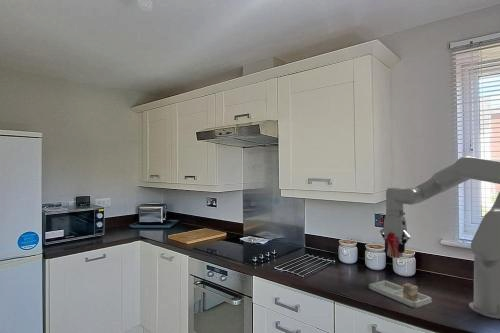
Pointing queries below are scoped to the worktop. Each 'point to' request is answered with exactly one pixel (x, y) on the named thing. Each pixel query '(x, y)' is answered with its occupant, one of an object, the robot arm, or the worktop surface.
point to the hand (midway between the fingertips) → (394, 250)
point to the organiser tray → (398, 293)
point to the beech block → (410, 292)
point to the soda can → (393, 246)
